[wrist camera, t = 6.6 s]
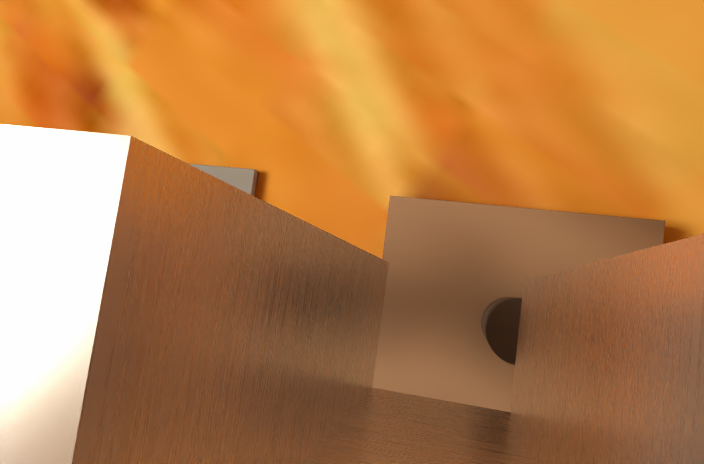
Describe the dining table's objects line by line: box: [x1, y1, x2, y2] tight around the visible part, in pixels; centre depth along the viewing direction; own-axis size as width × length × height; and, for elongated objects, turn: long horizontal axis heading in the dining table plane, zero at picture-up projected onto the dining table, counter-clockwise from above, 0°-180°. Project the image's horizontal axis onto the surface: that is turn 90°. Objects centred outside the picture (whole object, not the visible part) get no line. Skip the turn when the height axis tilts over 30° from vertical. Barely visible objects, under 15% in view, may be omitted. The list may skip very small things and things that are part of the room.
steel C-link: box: [0, 124, 704, 464], centre depth 8 cm, size 4×6×12 cm
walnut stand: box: [373, 196, 665, 412], centre depth 19 cm, size 10×10×5 cm
